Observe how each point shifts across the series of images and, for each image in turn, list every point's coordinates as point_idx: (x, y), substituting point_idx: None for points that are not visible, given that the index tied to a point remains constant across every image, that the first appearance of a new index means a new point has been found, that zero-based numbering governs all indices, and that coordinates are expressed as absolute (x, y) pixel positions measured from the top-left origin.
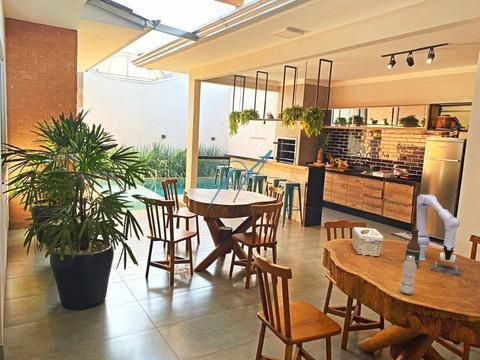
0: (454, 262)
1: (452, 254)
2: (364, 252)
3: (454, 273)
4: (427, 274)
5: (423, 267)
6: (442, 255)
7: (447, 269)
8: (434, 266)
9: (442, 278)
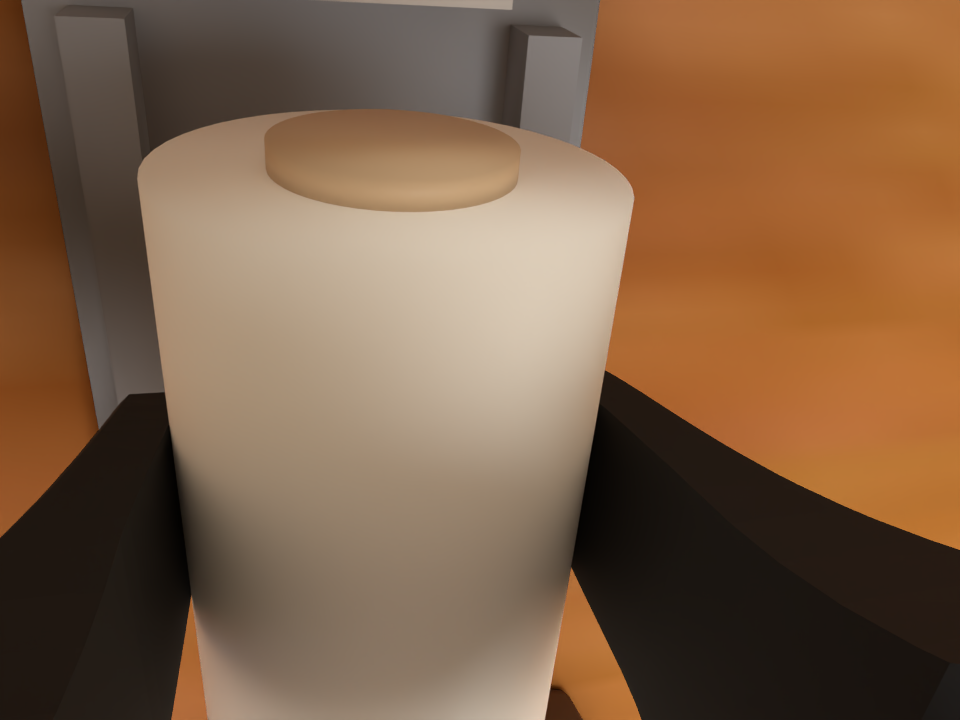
0: (509, 132)
1: (448, 431)
2: None
3: (593, 20)
4: None
5: None
6: (550, 680)
7: None
8: None
9: (930, 276)
